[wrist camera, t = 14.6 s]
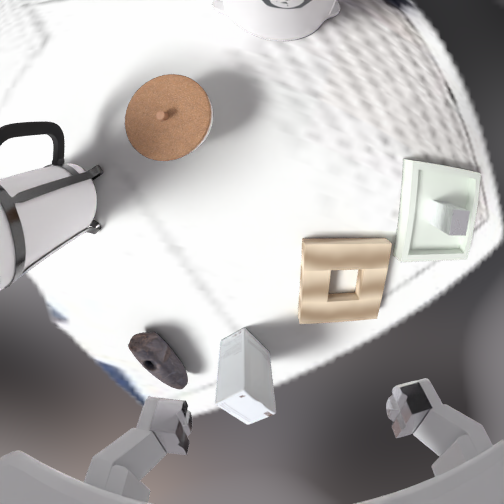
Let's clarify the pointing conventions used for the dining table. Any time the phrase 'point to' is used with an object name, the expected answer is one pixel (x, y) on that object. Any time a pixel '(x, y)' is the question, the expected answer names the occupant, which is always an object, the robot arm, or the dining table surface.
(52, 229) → the coffee press
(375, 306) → the socket block
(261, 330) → the dining table surface
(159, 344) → the perforated stone tool
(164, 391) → the dining table surface
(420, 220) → the tray
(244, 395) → the skincare box
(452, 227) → the pin
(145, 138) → the lidded jar
